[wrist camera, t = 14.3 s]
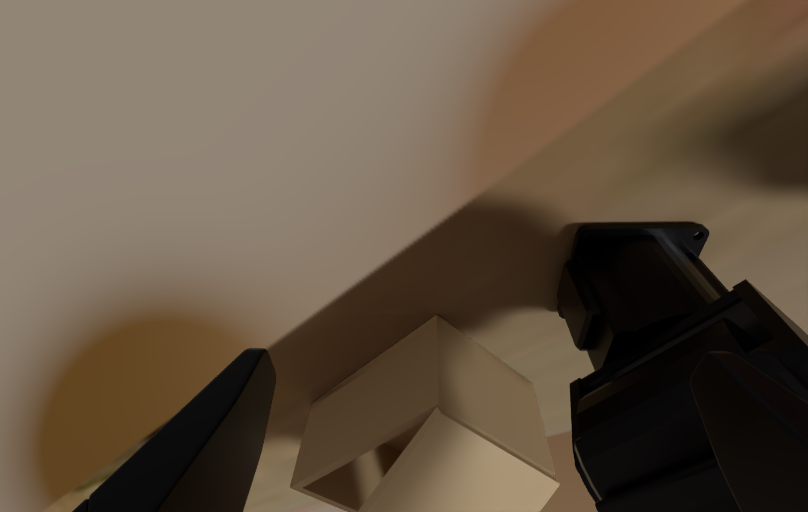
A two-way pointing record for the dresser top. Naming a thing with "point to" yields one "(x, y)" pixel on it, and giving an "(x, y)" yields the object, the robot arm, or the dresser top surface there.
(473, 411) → the carton
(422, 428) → the carton lid
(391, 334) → the dresser top surface
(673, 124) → the dresser top surface
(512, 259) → the dresser top surface
